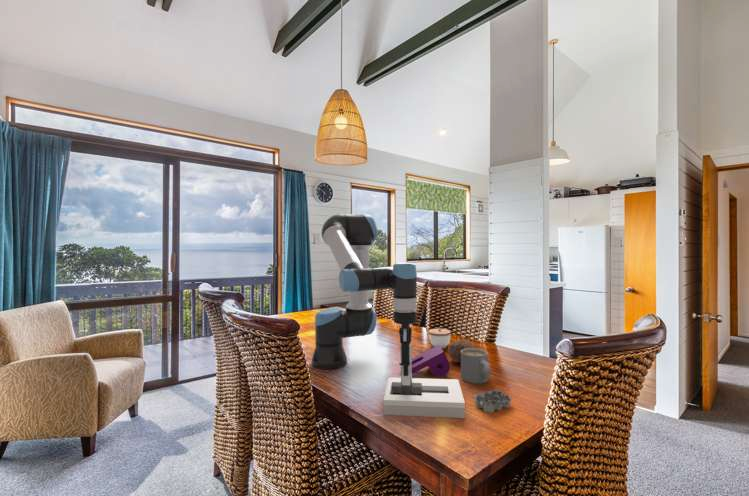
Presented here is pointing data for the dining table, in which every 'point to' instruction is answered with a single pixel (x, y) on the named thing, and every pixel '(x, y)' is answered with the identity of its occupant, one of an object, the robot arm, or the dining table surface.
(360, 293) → the robot arm
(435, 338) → the lidded jar
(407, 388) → the headed peg
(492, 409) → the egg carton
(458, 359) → the decorative rock
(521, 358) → the dining table surface
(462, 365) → the coffee mug
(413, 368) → the mounting bracket
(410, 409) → the keyhole plate
